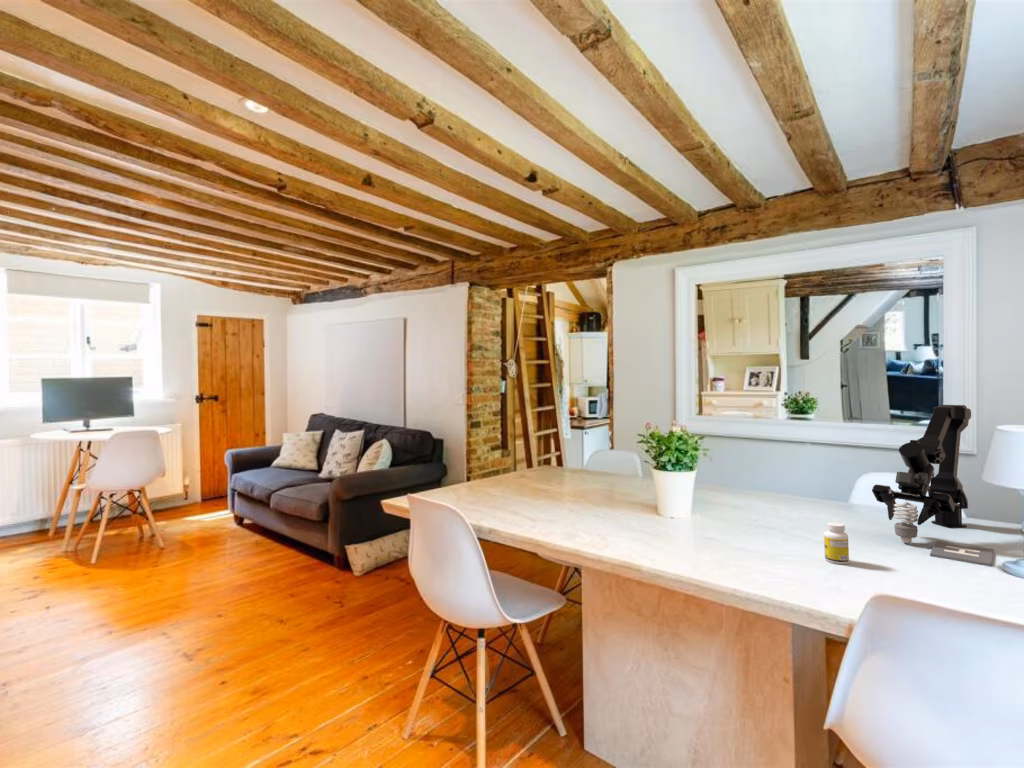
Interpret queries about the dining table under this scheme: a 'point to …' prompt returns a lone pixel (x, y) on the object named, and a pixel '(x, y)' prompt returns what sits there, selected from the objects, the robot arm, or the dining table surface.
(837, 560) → the supplement bottle
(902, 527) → the light bulb
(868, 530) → the dining table surface
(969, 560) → the board
